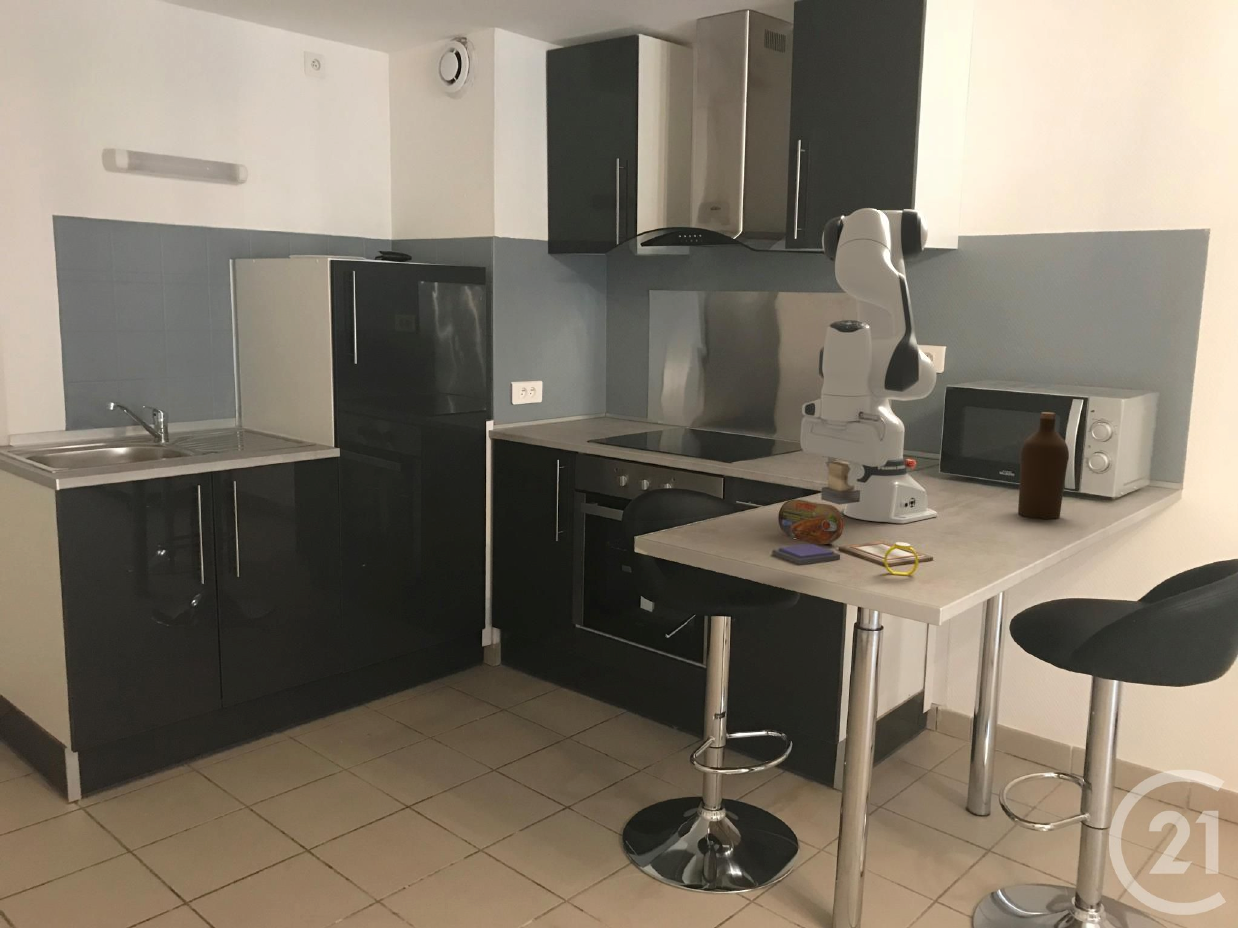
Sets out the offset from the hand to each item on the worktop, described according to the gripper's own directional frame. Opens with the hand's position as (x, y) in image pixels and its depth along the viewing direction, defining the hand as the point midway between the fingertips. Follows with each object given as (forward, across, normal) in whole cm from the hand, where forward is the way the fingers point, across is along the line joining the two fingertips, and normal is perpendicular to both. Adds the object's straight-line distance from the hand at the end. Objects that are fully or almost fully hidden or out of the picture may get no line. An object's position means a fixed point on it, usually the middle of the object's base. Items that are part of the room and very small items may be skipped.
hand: (841, 482), depth 184 cm
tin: (+17, +19, -9) cm, 27 cm away
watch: (+17, -9, -7) cm, 20 cm away
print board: (+16, +3, -15) cm, 22 cm away
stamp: (+3, 0, 0) cm, 3 cm away
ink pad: (+16, +8, +1) cm, 18 cm away
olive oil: (+18, +15, -78) cm, 82 cm away
